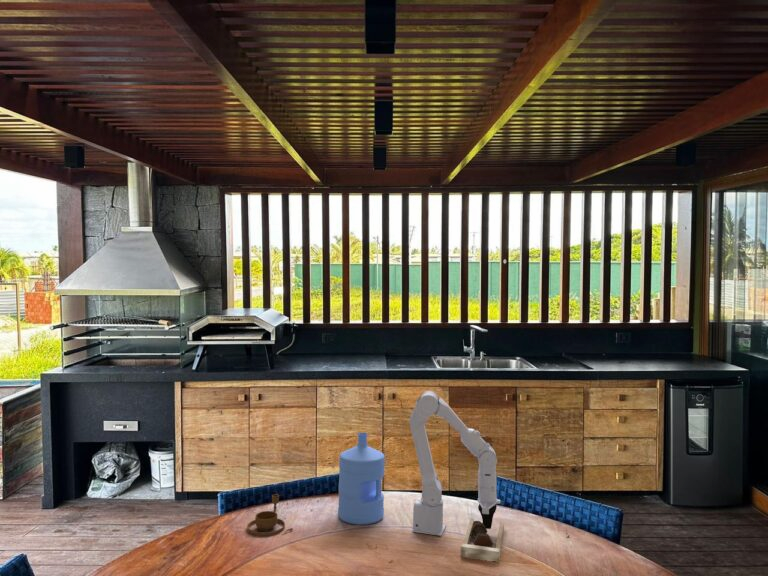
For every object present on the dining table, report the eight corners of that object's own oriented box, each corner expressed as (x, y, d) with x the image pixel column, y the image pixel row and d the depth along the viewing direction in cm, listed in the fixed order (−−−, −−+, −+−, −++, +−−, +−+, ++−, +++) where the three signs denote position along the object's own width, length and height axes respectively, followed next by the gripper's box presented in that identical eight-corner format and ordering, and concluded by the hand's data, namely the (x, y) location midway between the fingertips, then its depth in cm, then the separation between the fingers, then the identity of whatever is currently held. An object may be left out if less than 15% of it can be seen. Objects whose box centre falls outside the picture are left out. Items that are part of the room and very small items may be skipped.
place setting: (231, 530, 173) (232, 512, 173) (273, 509, 190) (273, 493, 191) (274, 543, 164) (275, 524, 165) (313, 520, 182) (314, 503, 182)
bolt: (479, 537, 175) (485, 557, 160) (466, 528, 175) (471, 548, 160) (488, 521, 175) (495, 540, 160) (475, 512, 175) (481, 531, 160)
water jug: (329, 520, 181) (331, 436, 181) (350, 504, 195) (352, 426, 196) (372, 529, 175) (374, 442, 175) (390, 512, 189) (392, 431, 190)
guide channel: (460, 556, 157) (460, 546, 157) (470, 524, 180) (470, 515, 180) (498, 562, 154) (498, 551, 154) (503, 528, 177) (503, 519, 177)
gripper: (498, 494, 165) (498, 539, 165) (501, 479, 179) (501, 520, 179) (475, 492, 167) (475, 536, 167) (479, 477, 181) (480, 518, 181)
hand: (487, 528), depth 173 cm, fingers closed, pressing on bolt
